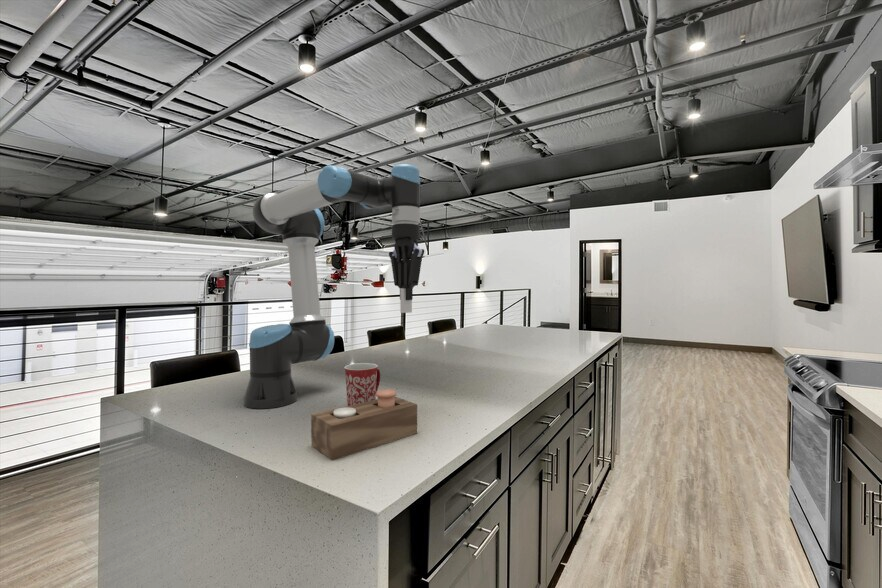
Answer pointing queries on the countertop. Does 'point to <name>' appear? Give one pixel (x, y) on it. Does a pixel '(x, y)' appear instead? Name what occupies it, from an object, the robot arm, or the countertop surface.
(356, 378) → the mug
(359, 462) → the countertop surface
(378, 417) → the walnut block
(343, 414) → the cream plug
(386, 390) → the terracotta plug
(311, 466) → the countertop surface
